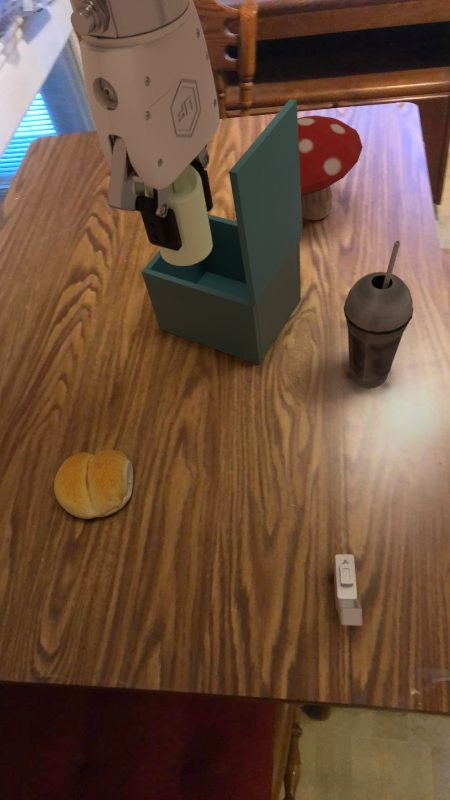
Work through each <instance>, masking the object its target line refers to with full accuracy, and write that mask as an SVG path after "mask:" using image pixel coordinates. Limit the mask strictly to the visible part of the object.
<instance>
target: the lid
mask: <svg viewBox="0 0 450 800" xmlns="http://www.w3.org/2000/svg"><path fill="white" fill-rule="evenodd" d="M228 174H229V180H230V188H231V193H232V200H233V206H234V213H235V219H236V220H235V221H237V226H238V233H239V239H240V245H241V252H242V258H243V265H244V271H245V277H246V284H247V290H248V297H249V303H251V304H254V305H256V303H257V302H258V300H259V299H260V297H261V296H262V295H263V293H264V292H265V290H266V289H267V287H268V286H269V284H270V283H271V281H272V280H273V278H274V277H275V275H276V274H277V272H278V271H279V269H280V268H281V266H282V265H283V264H284V262H285V261H286V259H287V258H288V256H289V255H290V253H291V252H292V250H293V249H294V247H295V246H296V244H297V243H298V241H299V240H300V241H301V238H302V237H303V216H302V210H301V188H300V165H299V142H298V102H297V99H292V98H290V99H288V100H287V102H285V104H284V105H283V106H282V107H281V108H280V110H279V111H278V112H277V113H276V115H275V116H274V117H273V119H271V121H270V122H269V123H268V124H267V126H266V127H265V128H264V129H263V130H262V132H261V133H260V134H259V135H258V136H257V137H256V138H255V139H254V141H253V142H252V143H251V144H250V145H249V147H248V148H247V149H246V150H245V152H244V153H243V154H242V155H241V156H240V157H239V158H238V160H237V161H236V162H235V164H234V165H232V167H231V168H230V169H229V171H228Z"/></svg>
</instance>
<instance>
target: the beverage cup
mask: <svg viewBox="0 0 450 800" xmlns="http://www.w3.org/2000/svg"><path fill="white" fill-rule="evenodd" d="M400 245H401V241H400V240H395V241H394V244H393V247H392V251H391V254H390V259H389V261H388V262H389V263H388V265H387V269H386V272H385V271H374V272H371V273H368V274H366V275H364V276H362V277H360V278H359V279H357V281H356V282H355V283H354V284H353V286H351V288H350V289H349V291H348V293H347V295H346V298H345V301H344V305H343V314H344V318H345V321H346V326H347V343H348V366H349V375H350V378H351V380H352V381H353V382H354V383H355V384H356V385H357V386H360V387H362V388H366V389H374V388H377V387H380V386H382V385H383V384H384V383H385V382H386V380H387V378H388V376H389V373H390V372H391V369H392V366H393V363H394V360H395V358H396V354H397V352H398V350H399V349H398V348H399V346H400V343H401V340H402V337H403V335H404V332H405V331H406V329H407V327H408V325H409V324H410V322H411V320H412V318H413V314H414V306H413V305H414V302H413V297H412V293H411V291H410V288H409V287H408V285H407V284H406V283H405V281H404V280H402V278H400V277H399V276H397V275H396V274H393V271H394V267H395V263H396V260H397V256H398V252H399V248H400Z"/></svg>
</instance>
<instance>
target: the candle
mask: <svg viewBox="0 0 450 800" xmlns="http://www.w3.org/2000/svg"><path fill="white" fill-rule="evenodd" d="M144 187H145V196H147V197H150V198H153V199H154V197H153V188H150V187H147V186H146V185H145V184H144ZM167 198H168V208H170V209H172V210H174V212H175V216H176V220H177V224H178V228H179V233H180V237H181V241H182V247H181V248H180V249H179V251H175V250H171V249H167V248H164V247H160V246H158V249H159V250H160V253H161V256H162V258H163V259H164V260H165V261H166V262H168V263H170V264H172V265H176V266H188V265H193V264H196V263H198V262H200V261H202V260H203V259H205V258H206V257H207V256H208V255H209V253H210V252H211V250H212V247H213V244H212V237H211V231H210V226H209V220H208V214H209V213H208V212H207V209H206V203H205V197H204V192H203V186H202V180H201V177H200V175H199V173H198V172H197V170H196V169H195V168H194V167H193V166H191V165H190V164H189V165H188V166H187V167H186V168H185V170H184V171H183V172H182V173H181V174H180V175H179V176H178V177H177V178H176V179H175V180H174V182H173V183H172V184H170V185H169V186H168V187H167Z"/></svg>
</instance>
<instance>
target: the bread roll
mask: <svg viewBox="0 0 450 800" xmlns="http://www.w3.org/2000/svg"><path fill="white" fill-rule="evenodd" d="M133 486H134V466H133V462H132V460H130V459H129V458H128V457H127V456H126V454H124V453H123V452H122V451H120V450H117V449H113V448H105V449H103V450H101V451H99V452H97V453H95V454H92V453H91V452H90V453H89V452H86V451H82V452H76V453H75V454H73V455H71V456H69V457H68V458H67V459H65V460H64V461H63V463H62V464H61V465H60V467H59V468H58V470H57V472H56V474H55V477H54V482H53V493H54V495H55V498H56V500H57V502H58V504H59V505H60V506H61V507H62V509H64V510H65V511H66V513H69V515H71V516H73V517H75V518H79V519H84V520H90V519H94V518H102V517H107V516H110V515H112V514H115V513H117V512H118V511H120V510H121V509H122V508H124V507H125V506H126V505H127V503H128V501H129V500H130V499H131V497H132V492H133Z"/></svg>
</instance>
